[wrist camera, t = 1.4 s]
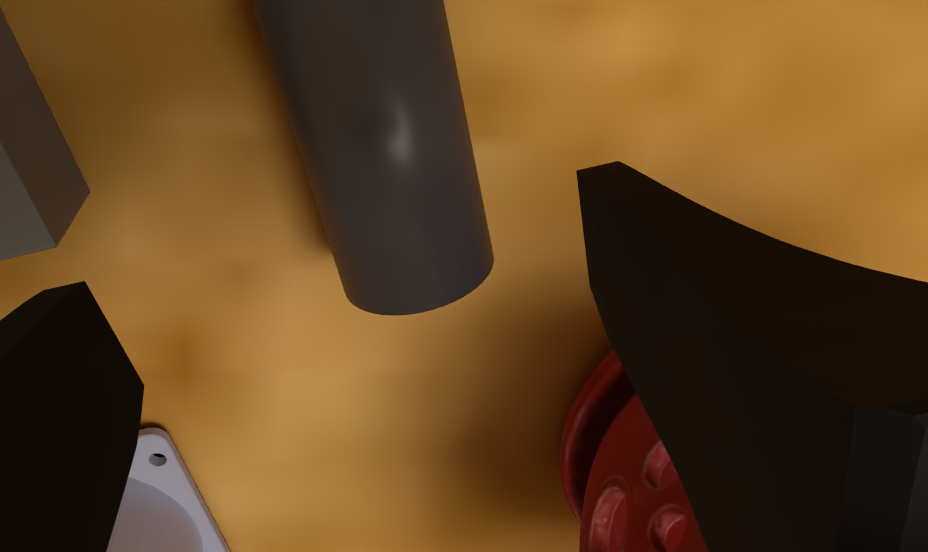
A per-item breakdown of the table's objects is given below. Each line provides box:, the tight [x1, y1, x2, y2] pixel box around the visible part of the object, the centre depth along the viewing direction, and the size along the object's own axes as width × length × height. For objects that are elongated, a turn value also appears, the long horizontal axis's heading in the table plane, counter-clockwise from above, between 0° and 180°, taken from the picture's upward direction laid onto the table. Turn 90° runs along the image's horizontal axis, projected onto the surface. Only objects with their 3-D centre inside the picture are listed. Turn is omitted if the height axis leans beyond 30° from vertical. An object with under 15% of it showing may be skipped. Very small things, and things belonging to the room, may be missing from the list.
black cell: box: [251, 0, 494, 315], centre depth 18 cm, size 9×4×4 cm, turn 11°
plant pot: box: [559, 349, 708, 552], centre depth 22 cm, size 13×13×12 cm
